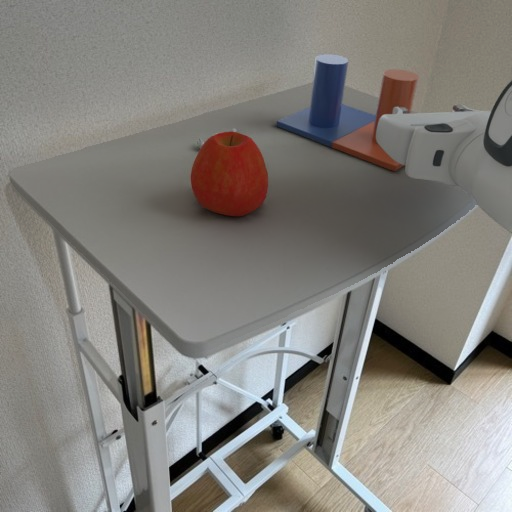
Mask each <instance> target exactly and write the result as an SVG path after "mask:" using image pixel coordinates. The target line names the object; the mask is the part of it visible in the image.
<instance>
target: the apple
mask: <svg viewBox="0 0 512 512" xmlns="http://www.w3.org/2000/svg"><path fill="white" fill-rule="evenodd" d="M217 133H218V132H217ZM215 134H216V133H215ZM268 173H269V172H268V169H267V166H266V161H265V159H264V155H263V153H262V151H261V150H260V148H259V146H258V145H257V143H256V142H255V141H254V139H253V138H252V137H250V136H249V135H246V134H243V133H240V132H238V131H237V132H231V131H230V130H229V131H223V132H219V133H218V134H216V135H214V134H213V135H211V136H209V137H208V138H207V139H206V141H205V142H204V144H203V146H202V147H201V149H200V148H199V150H198V152H197V154H196V156H195V158H194V161H193V163H192V166H191V170H190V175H189V177H190V187H191V190H192V192H193V195H194V197H195V199H196V200H197V202H198V204H199V205H201V207H202V208H204V209H206V210H209V211H210V212H213V213H216V214H220V215H224V216H229V217H241V216H247V215H249V214H250V213H253V212H255V211H256V210H257V209H259V208H260V207H261V206H262V205H263V204H264V202H265V200H266V198H267V196H268V191H269V174H268Z"/></svg>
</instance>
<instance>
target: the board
mask: <svg viewBox="0 0 512 512" xmlns="http://www.w3.org/2000/svg"><path fill="white" fill-rule="evenodd" d="M309 111H310V106H309V107H307V108H304V109H302V110H299V111H297V112H295V113H292V114H290V115H287V116H286V117H283V118H281V119H278V120H276V127H278V128H280V129H283V130H286V131H288V132H291V133H294V134H296V135H299V136H301V137H304V138H307V139H309V140H312V141H314V142H317V143H320V144H323V145H324V146H327V147H330V148H333V149H335V150H338V151H341V152H343V153H345V154H348V155H351V156H353V157H356V158H359V159H360V160H363V161H366V162H368V163H371V164H375V165H376V166H379V167H382V168H384V169H387V170H390V171H392V172H396V171H398V170H400V169H401V168H403V167H404V166H405V165H402V164H400V163H398V162H396V161H394V160H393V159H392V158H391V157H390V156H389V155H388V154H387V153H386V152H385V151H384V150H383V149H382V148H381V147H380V145H379V144H378V143H376V142H374V141H373V140H372V132H373V126H374V121H375V116H376V114H373V113H370V112H367V111H364V110H361V109H358V108H355V107H352V106H350V105H346V104H343V103H342V108H341V115H340V122H339V125H338V126H336V127H332V128H322V127H317V126H314V125H312V124H310V123H309Z"/></svg>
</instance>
